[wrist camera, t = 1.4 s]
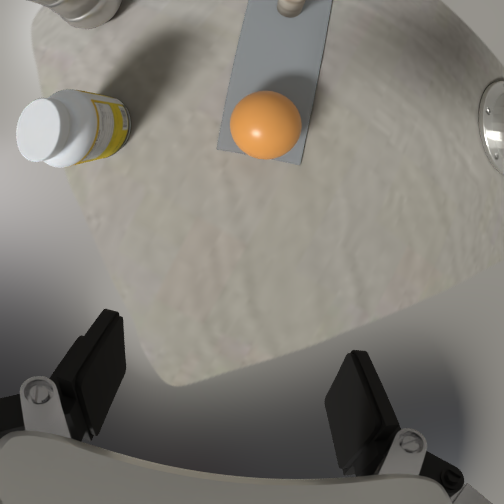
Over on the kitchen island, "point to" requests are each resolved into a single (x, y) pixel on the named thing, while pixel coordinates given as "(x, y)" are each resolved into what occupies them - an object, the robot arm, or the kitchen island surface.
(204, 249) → the kitchen island surface
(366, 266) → the kitchen island surface
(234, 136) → the ball
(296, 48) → the plate
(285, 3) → the pin
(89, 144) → the pill bottle
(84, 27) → the plastic bottle
